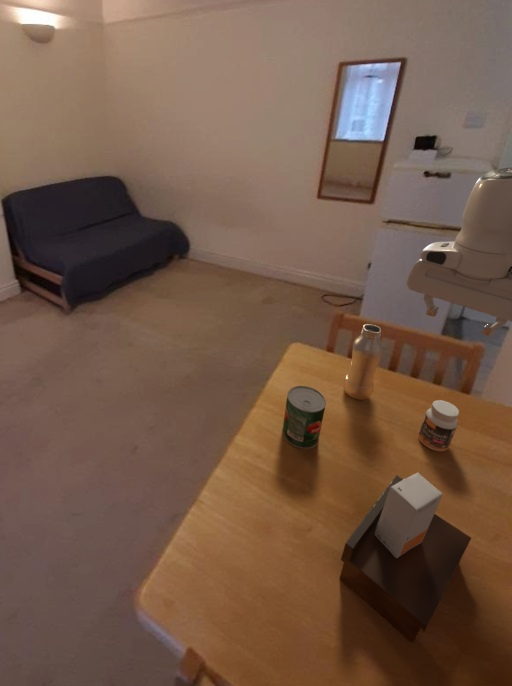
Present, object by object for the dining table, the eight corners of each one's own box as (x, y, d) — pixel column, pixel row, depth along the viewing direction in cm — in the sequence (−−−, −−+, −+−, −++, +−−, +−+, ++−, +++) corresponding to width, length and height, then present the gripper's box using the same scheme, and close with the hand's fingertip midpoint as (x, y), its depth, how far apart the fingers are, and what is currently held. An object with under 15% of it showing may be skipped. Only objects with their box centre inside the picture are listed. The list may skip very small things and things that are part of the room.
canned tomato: (281, 418, 96) (286, 382, 91) (317, 424, 94) (324, 388, 89) (282, 445, 89) (287, 408, 84) (320, 452, 87) (328, 414, 82)
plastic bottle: (345, 381, 107) (359, 317, 98) (373, 391, 103) (390, 326, 94) (339, 396, 102) (353, 330, 93) (368, 407, 98) (386, 339, 90)
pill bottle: (414, 442, 88) (426, 408, 84) (421, 427, 92) (432, 394, 88) (445, 457, 85) (459, 422, 81) (450, 440, 89) (464, 406, 84)
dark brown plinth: (460, 559, 67) (477, 526, 63) (416, 647, 57) (433, 614, 53) (385, 507, 76) (396, 474, 72) (336, 576, 66) (345, 542, 62)
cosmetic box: (396, 560, 62) (416, 510, 57) (373, 534, 66) (389, 485, 60) (423, 543, 64) (444, 493, 59) (399, 519, 68) (417, 470, 63)
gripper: (561, 272, 67) (531, 340, 73) (424, 240, 81) (408, 300, 87) (554, 284, 63) (522, 355, 69) (412, 249, 78) (396, 310, 84)
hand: (458, 324), depth 79 cm, fingers open, 8 cm apart
